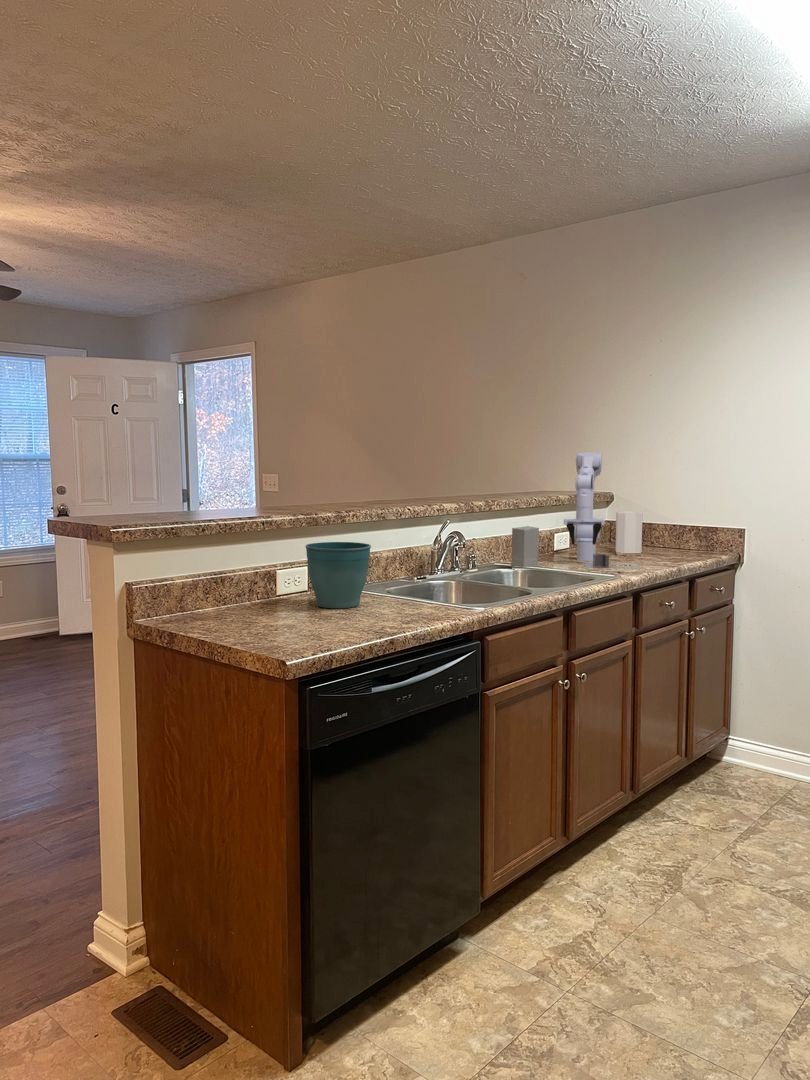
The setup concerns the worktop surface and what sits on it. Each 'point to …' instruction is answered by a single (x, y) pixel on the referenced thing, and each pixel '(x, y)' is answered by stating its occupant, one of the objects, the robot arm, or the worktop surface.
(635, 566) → the rail board
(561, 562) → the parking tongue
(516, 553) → the skincare box
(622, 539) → the white upright block
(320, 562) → the flower pot
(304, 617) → the worktop surface
